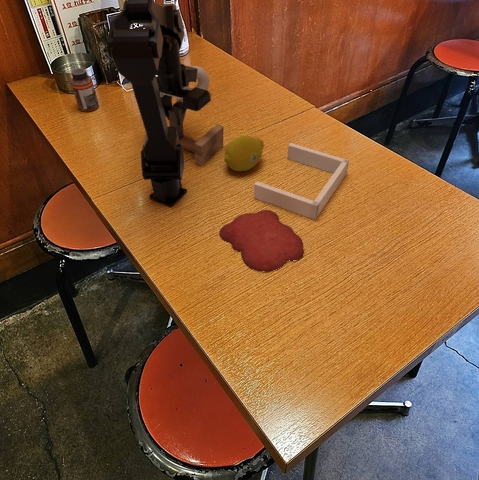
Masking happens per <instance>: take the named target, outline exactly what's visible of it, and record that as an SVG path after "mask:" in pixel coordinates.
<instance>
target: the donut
mask: <svg viewBox="0 0 479 480" xmlns="http://www.w3.org/2000/svg"><path fill="white" fill-rule="evenodd" d="M189 67H193V68H197V69H198V71H197V84H196V86H195V87H197V88H200V89H204V90H207V91H209V90H208V89H209V86H210V77H209V74H208V73H207V71H206V70H205V68H204V67H201V66H197V65H190V66H189ZM195 87H190V85H189V86H187V87H184V89H189V90H192V89H194V88H195Z"/></svg>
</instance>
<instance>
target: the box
mask: <svg viewBox="0 0 479 480" xmlns="http://www.w3.org/2000/svg"><path fill="white" fill-rule="evenodd" d="M287 160H291V161H294V162H297V163H301V164H303V165H307V166H308V167H309V166H310V167H313V168H314V169H315V168H316V169H319V170H323V171H326V172H328V173H332V175H331V177H330V178H329V179H328V181H327V182H326V184H325V185H324V187H323V188H322V189H321V191H320V192H319V193H318V195H317V196H316V198H315V199H314V200H313V199H309V198H307V197H304V196H301V195H298V194H295V193H292V192H289V191H286V190H284V189H280V188H277V187H276V186H275V187H274V186H272V185H269V184H266V183H263V182H260V181H255V183H253V198H254V199H256V200H259V201H262V202H264V203H268V204H270V205H273V206H276V207H278V208H281V209H284V210H287V211H289V212H292V213H295V214H298V215H301V216H304V217H307V218H309V219H311V220H314V221H315V220H316V219H317V218H318V216H319V215H320V214H321V212H322V211H323V209H324V208H325V207H326V205H327V204H328V202H329V200H330V199H331V198H332V196H333V194H334V193H335V191H336V190H337V189H338V187H339V186H340V184H341V183H342V181H343V180H344V178H345V177H346V175H347V174H348V169H349V163H350V160H349V159H346V158H342V157H339V156H335V155H332V154H329V153H325V152H322V151H319V150H316V149H312V148H309V147H305V146H302V145H298V144H295V143H292V142H290V143H289V144H288V145H287Z"/></svg>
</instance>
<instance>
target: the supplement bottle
mask: <svg viewBox="0 0 479 480" xmlns="http://www.w3.org/2000/svg"><path fill="white" fill-rule="evenodd" d="M71 75H72V78H71V79H70V85H71V88H72V91H73V94H74V98H75V100H76V104H77V107H78V109H79V111H81V112H84V113H89V112H93V111H95V110H97V109H98V108H99V106H100V103H99V99H98V95H97V92H96V89H95V84H94V82H93V78H92V77H91V76H90V75H89V74H88V72H87V70H86V68H83V67H77V68H74V69H72V70H71Z"/></svg>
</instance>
